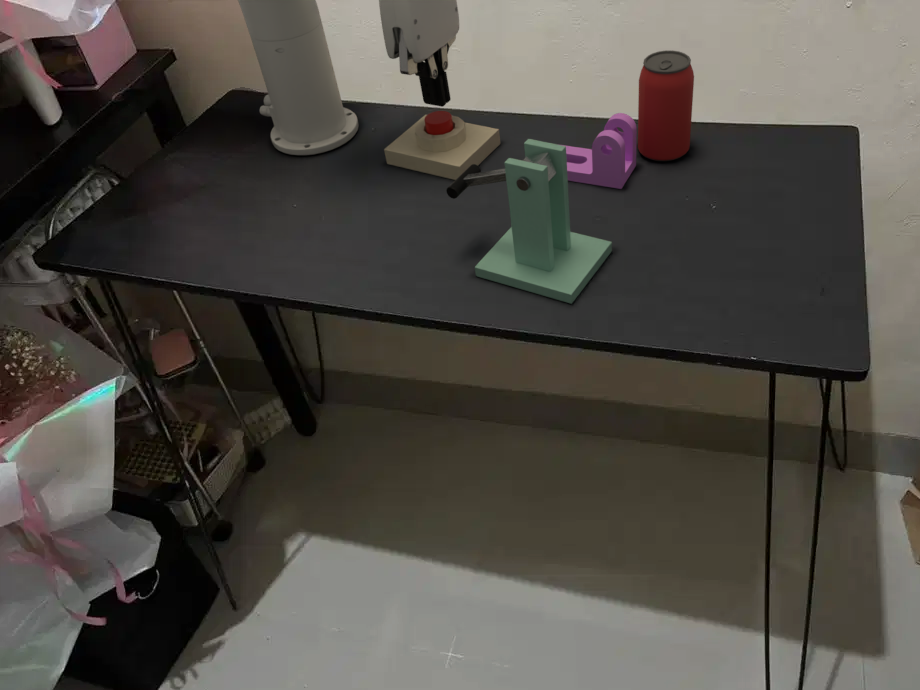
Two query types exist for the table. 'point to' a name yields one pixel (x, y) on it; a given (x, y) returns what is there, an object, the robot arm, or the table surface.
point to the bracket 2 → (606, 155)
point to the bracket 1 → (542, 232)
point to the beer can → (665, 105)
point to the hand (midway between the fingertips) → (437, 102)
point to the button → (438, 123)
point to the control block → (442, 148)
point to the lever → (493, 175)
